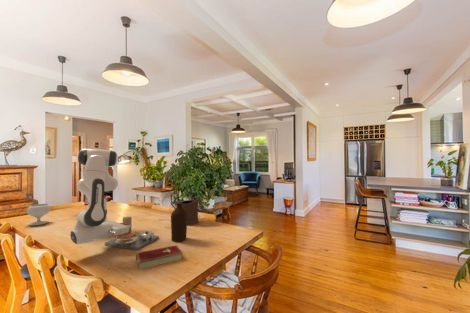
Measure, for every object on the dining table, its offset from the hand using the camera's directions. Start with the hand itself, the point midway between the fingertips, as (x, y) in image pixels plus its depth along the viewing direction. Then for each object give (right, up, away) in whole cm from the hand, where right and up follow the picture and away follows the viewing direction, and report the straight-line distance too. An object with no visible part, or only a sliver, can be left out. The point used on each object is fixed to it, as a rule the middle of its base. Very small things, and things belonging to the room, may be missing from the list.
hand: (128, 224), depth 137 cm
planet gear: (-1, -7, -1) cm, 7 cm away
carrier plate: (+3, -11, 0) cm, 11 cm away
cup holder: (+26, -12, +43) cm, 52 cm away
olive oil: (+31, -11, +4) cm, 33 cm away
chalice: (-91, -11, +37) cm, 99 cm away
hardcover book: (+28, -11, -24) cm, 39 cm away
